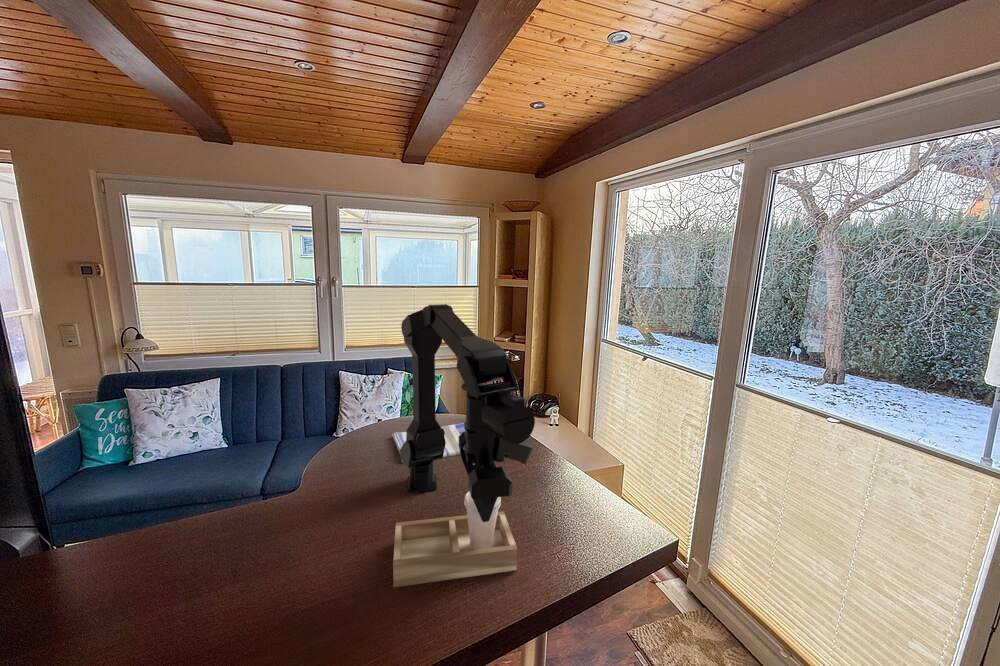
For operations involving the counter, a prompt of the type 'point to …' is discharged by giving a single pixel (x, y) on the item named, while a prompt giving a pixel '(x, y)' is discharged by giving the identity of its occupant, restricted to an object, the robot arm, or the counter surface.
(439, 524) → the tray
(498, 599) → the counter surface
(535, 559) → the counter surface
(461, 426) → the dish towel
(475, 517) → the smoothie
